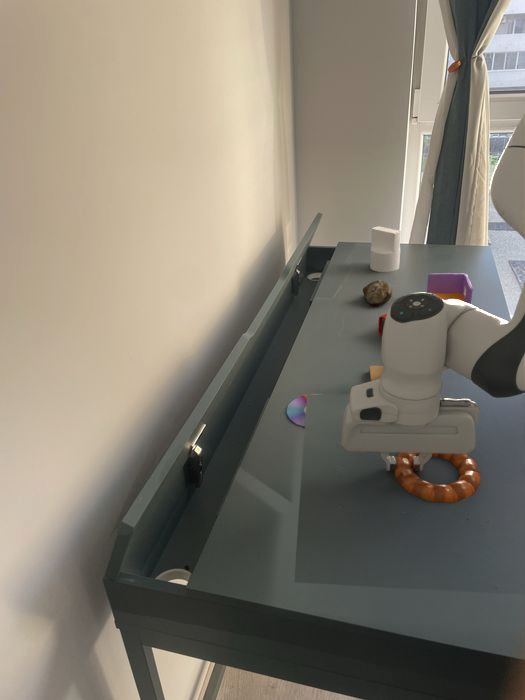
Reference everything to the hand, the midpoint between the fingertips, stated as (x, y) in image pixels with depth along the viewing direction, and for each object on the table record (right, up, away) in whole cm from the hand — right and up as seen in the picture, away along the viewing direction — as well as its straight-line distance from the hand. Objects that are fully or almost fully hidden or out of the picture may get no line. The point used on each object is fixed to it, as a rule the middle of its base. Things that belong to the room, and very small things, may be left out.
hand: (403, 468), depth 86 cm
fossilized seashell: (+9, +33, +60) cm, 69 cm away
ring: (+5, 0, 0) cm, 5 cm away
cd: (-13, +7, +18) cm, 23 cm away
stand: (+4, +12, +25) cm, 28 cm away
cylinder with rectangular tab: (+16, +45, +81) cm, 94 cm away
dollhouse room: (+26, +31, +55) cm, 69 cm away
